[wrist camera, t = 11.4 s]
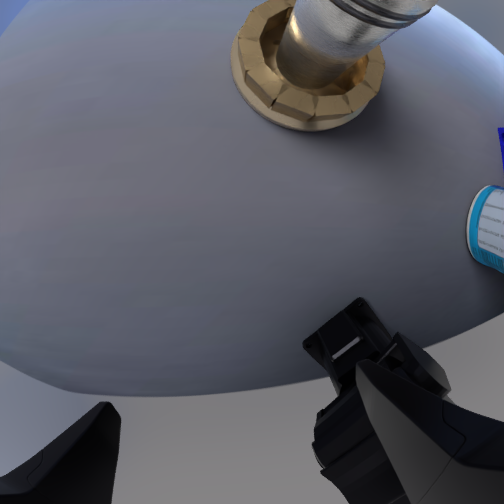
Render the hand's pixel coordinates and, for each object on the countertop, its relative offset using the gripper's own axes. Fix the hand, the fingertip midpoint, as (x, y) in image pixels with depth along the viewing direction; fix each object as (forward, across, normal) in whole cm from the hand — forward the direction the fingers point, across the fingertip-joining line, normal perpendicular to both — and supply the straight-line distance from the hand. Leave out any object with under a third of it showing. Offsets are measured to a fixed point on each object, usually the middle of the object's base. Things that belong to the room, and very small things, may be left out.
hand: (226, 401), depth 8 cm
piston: (+12, -8, -14) cm, 20 cm away
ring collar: (+13, -8, -14) cm, 21 cm away
